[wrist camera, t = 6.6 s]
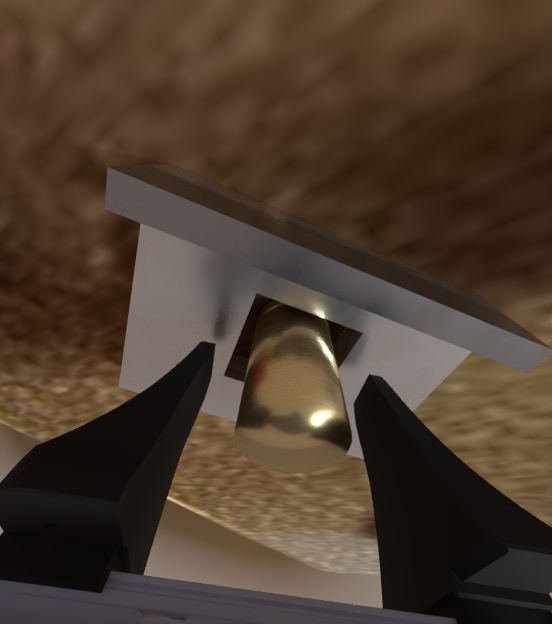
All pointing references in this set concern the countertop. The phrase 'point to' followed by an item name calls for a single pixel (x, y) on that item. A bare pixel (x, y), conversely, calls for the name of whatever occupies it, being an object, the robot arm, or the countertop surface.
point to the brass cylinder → (292, 394)
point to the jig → (287, 294)
